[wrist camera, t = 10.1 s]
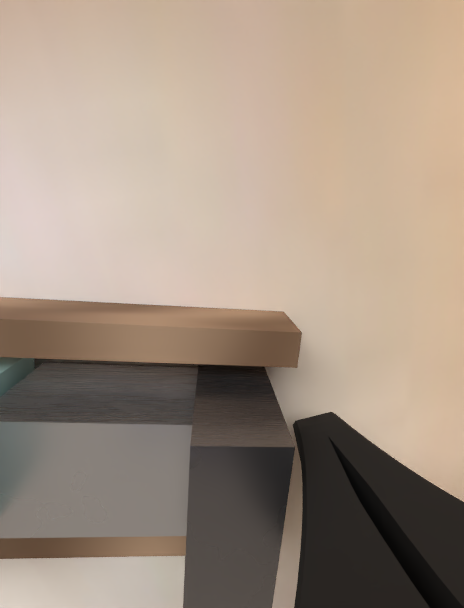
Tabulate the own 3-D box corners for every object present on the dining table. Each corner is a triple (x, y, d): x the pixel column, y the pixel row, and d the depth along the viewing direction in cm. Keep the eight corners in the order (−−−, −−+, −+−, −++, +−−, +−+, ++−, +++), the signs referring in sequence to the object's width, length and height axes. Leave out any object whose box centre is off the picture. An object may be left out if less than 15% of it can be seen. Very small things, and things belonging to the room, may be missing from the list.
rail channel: (283, 311, 10) (301, 332, 8) (261, 499, 11) (271, 553, 9) (-169, 288, 8) (-283, 305, 7) (-113, 499, 10) (-189, 561, 8)
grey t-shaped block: (259, 353, 10) (294, 447, 6) (247, 466, 11) (270, 616, 7) (42, 345, 9) (-102, 441, 5) (53, 465, 10) (-57, 628, 6)
